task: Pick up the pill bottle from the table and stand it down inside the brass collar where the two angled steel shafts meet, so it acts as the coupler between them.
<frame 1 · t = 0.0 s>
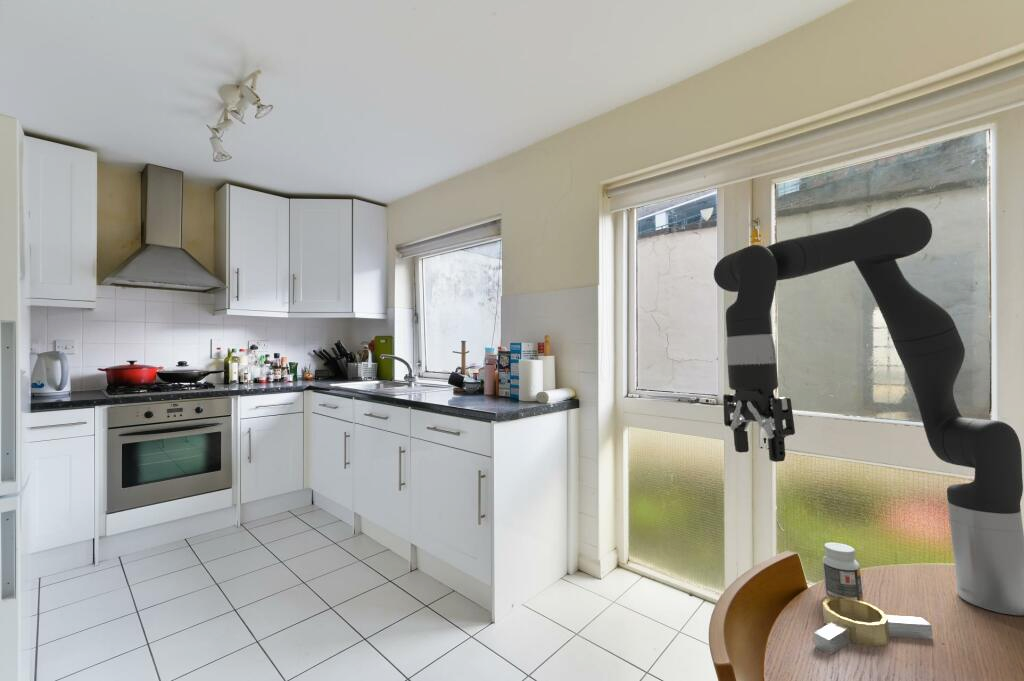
hand: (758, 456, 75), 29 cm above the table, tool pointing down, fingers open, 8 cm apart
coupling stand: (855, 629, 73), on the table
pill bottle: (844, 602, 81), on the table
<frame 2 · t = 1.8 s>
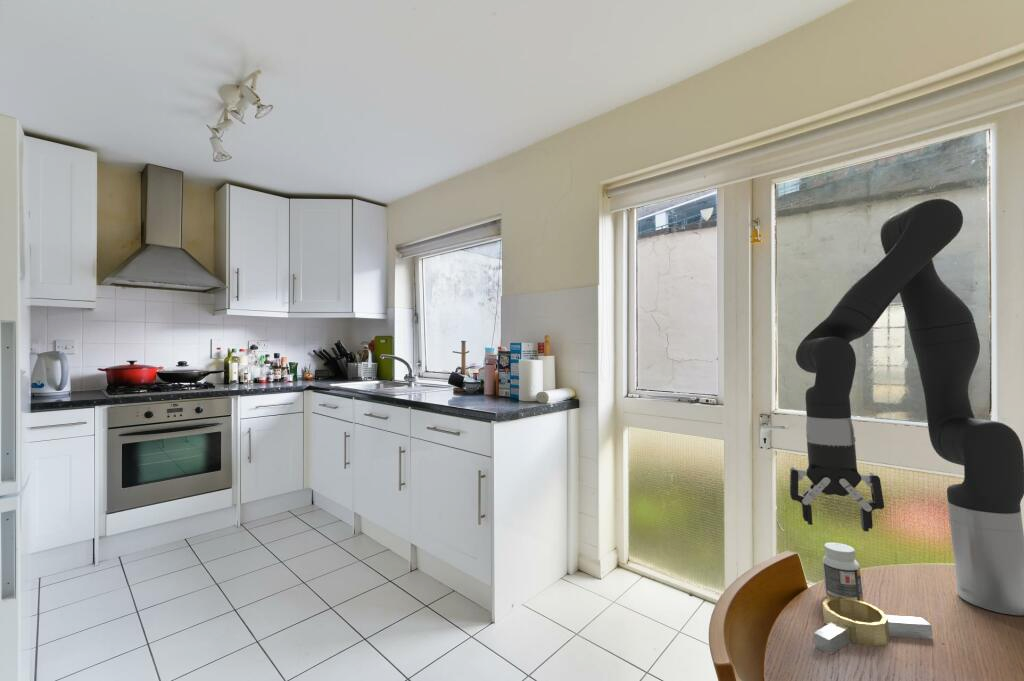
hand: (836, 526, 82), 14 cm above the table, tool pointing down, fingers open, 8 cm apart
nothing on the table moved.
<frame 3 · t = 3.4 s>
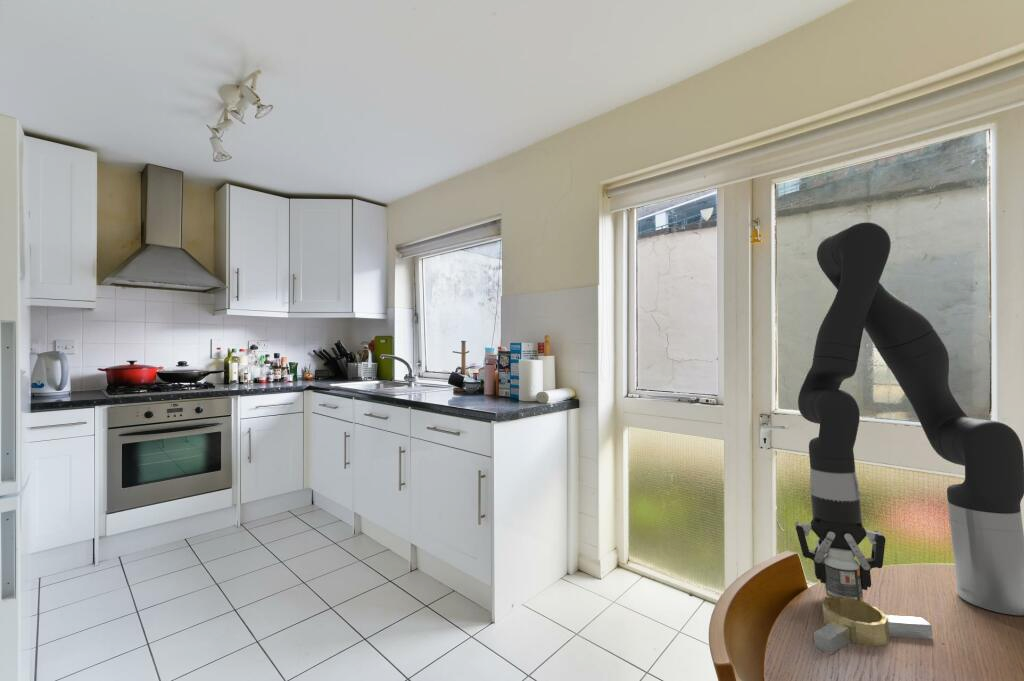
hand: (842, 584, 82), 3 cm above the table, tool pointing down, fingers closed on pill bottle, 5 cm apart
pill bottle: (844, 602, 81), on the table, touching gripper
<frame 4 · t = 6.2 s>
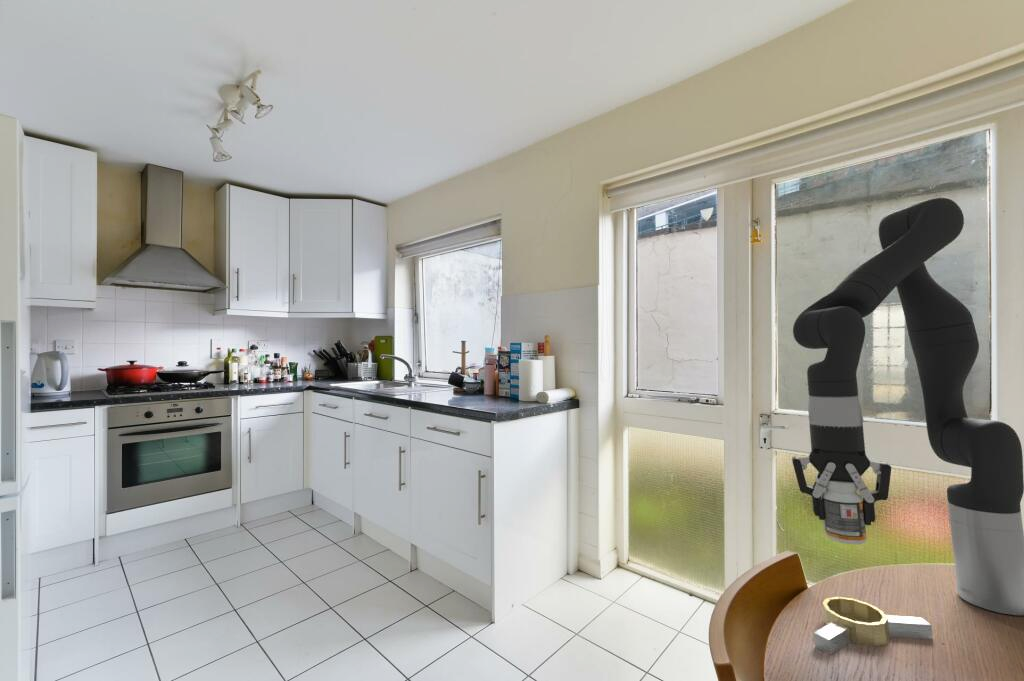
hand: (843, 520, 74), 18 cm above the table, tool pointing down, fingers closed on pill bottle, 5 cm apart
pill bottle: (845, 540, 74), point 14 cm above the table, touching gripper
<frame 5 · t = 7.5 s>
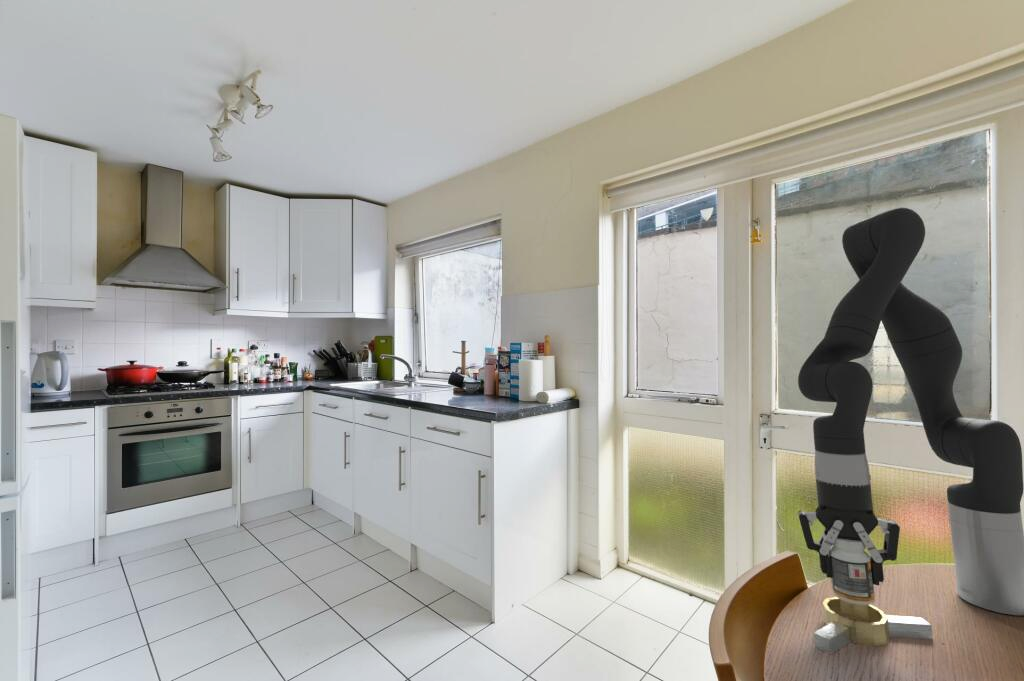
hand: (851, 578, 73), 8 cm above the table, tool pointing down, fingers closed on pill bottle, 5 cm apart
pill bottle: (853, 599, 73), point 5 cm above the table, touching gripper
when the fingers open (4 cm above the table, at t = 8.7 s): pill bottle drops 1 cm, resting in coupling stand.
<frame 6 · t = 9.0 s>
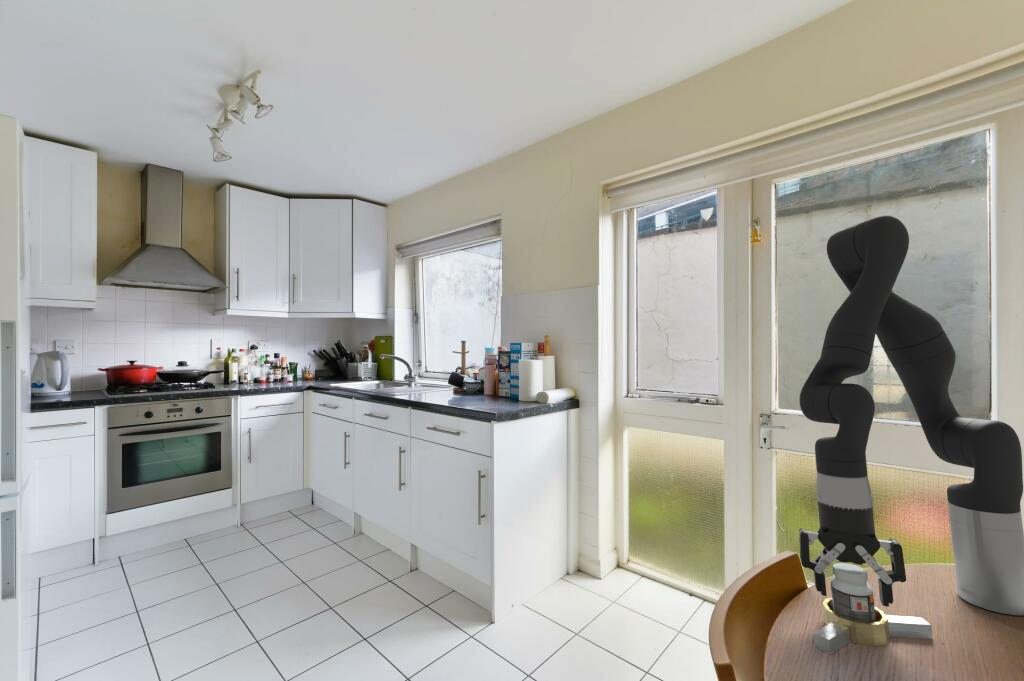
hand: (853, 598, 73), 5 cm above the table, tool pointing down, fingers open, 8 cm apart
pill bottle: (855, 631, 73), resting in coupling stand
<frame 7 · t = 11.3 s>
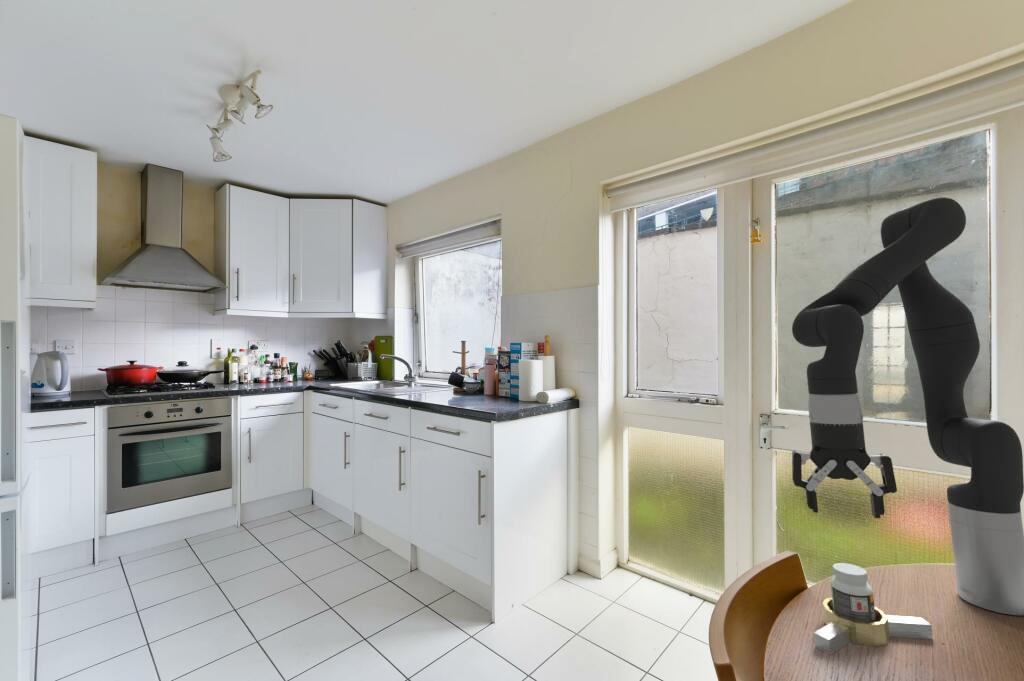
hand: (844, 514, 75), 19 cm above the table, tool pointing down, fingers open, 8 cm apart
nothing on the table moved.
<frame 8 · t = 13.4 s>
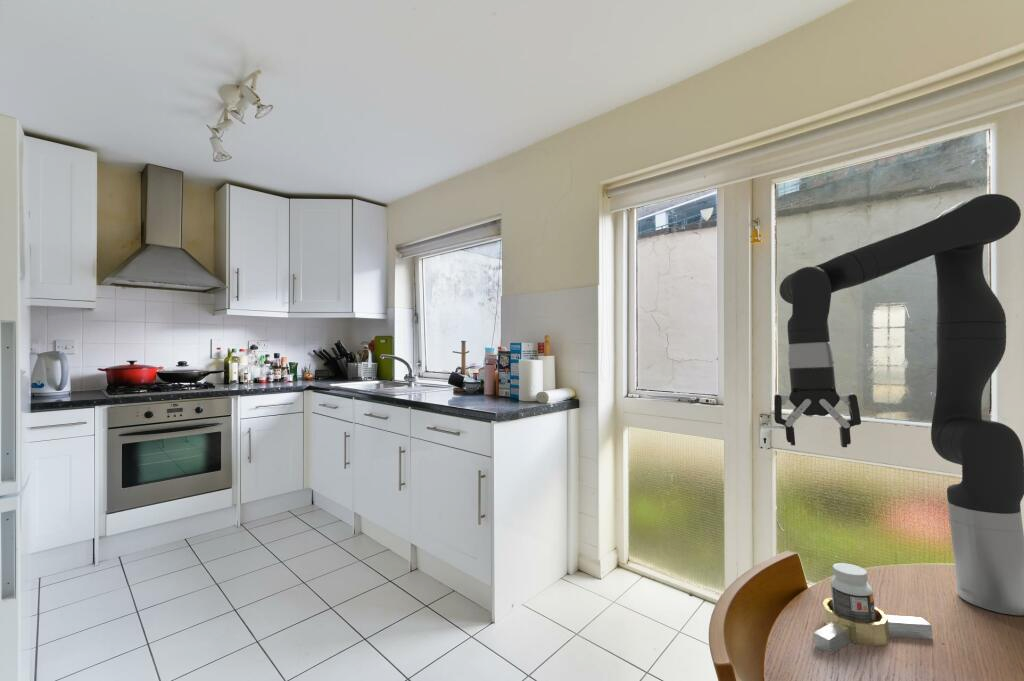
hand: (817, 445, 87), 28 cm above the table, tool pointing down, fingers open, 8 cm apart
nothing on the table moved.
at the end: pill bottle 0.1 cm off-centre on the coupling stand, point 0.0 cm above the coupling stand's base; pill bottle tilted 0°; the gripper is holding nothing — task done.
